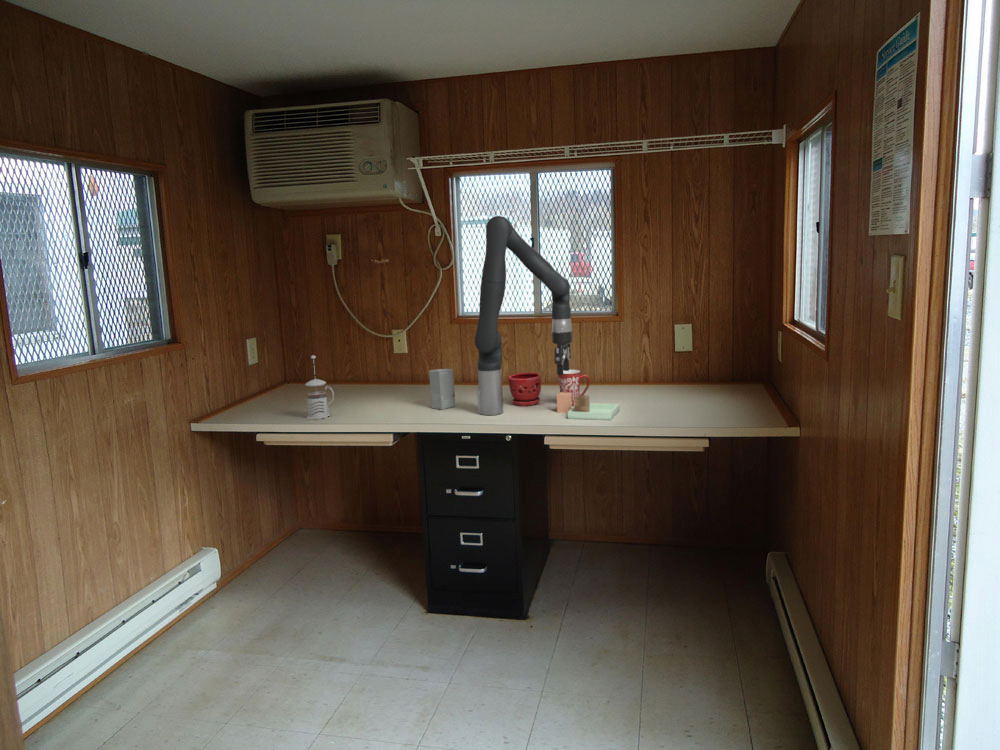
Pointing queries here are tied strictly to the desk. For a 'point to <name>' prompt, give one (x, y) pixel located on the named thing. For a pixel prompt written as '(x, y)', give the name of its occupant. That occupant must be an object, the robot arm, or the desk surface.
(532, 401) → the plant pot
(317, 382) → the french press
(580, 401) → the walnut block
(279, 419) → the desk surface
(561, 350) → the robot arm
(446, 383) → the skincare box
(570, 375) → the mug
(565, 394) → the terracotta block
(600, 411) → the tray
